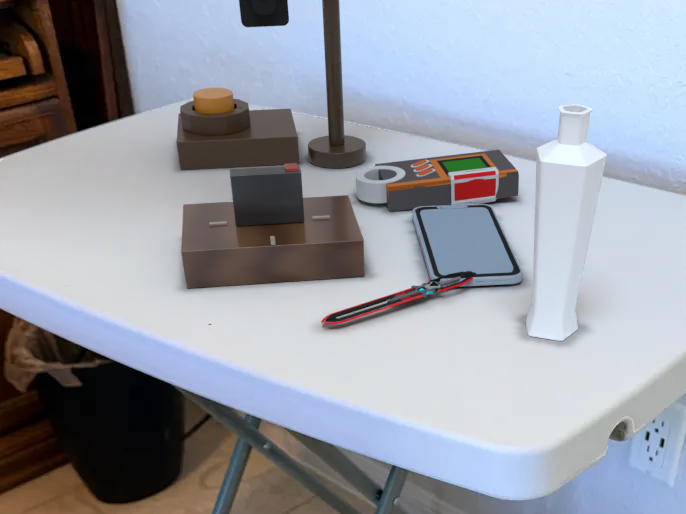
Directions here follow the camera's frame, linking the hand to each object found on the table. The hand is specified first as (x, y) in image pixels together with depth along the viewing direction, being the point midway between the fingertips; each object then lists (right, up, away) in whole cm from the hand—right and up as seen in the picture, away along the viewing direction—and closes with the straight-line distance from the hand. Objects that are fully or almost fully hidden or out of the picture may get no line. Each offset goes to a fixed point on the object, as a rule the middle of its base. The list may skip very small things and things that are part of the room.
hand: (261, 11), depth 66 cm
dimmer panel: (-1, -14, +11) cm, 18 cm away
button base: (-7, +3, +31) cm, 32 cm away
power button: (-9, +6, +28) cm, 31 cm away
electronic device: (+13, -5, +22) cm, 26 cm away
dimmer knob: (-1, -12, +9) cm, 15 cm away
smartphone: (+15, -13, +12) cm, 24 cm away
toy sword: (+10, -20, +4) cm, 23 cm away
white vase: (+21, -23, +1) cm, 31 cm away
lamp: (+3, +2, +30) cm, 30 cm away
